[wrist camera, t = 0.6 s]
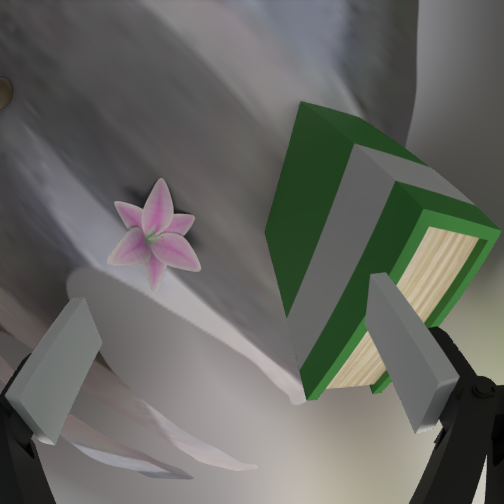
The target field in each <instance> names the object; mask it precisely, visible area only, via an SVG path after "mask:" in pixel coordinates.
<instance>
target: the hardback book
mask: <svg viewBox="0 0 504 504" xmlns="http://www.w3.org/2000/svg"><path fill="white" fill-rule="evenodd" d="M500 233H501V230H500V229H499V228H498V227H497V226H496V225H495V224H494V223H493V222H492V221H491V220H490V219H489V218H488V217H487V216H486V215H485V214H484V213H483V212H482V211H481V210H480V209H479V208H478V207H476V206H475V205H474V204H473V203H472V202H471V201H470V200H469V199H468V198H466V197H465V196H464V195H463V194H462V193H461V192H460V191H458V190H457V189H456V188H455V187H454V186H453V185H451V184H450V183H449V182H448V181H446V180H445V179H444V178H443V177H442V176H440V175H439V174H438V173H437V172H435V171H434V170H433V169H432V168H430V167H429V166H428V165H427V164H425V163H424V162H423V161H421V160H420V159H418V158H417V157H416V156H415V155H413V154H412V153H411V152H409V151H408V150H407V149H405V148H404V147H402V146H401V145H400V144H398V143H397V142H395V141H394V140H393V139H391V138H390V137H388V136H387V135H385V134H384V133H382V132H381V131H379V130H378V129H376V128H375V127H373V126H372V125H370V124H369V123H367V122H366V121H364V120H363V119H361V118H359V117H357V116H353V115H350V114H347V113H343V112H340V111H336V110H333V109H329V108H326V107H322V106H318V105H314V104H310V103H306V102H302V101H301V103H300V106H299V110H298V113H297V117H296V121H295V124H294V128H293V132H292V135H291V139H290V143H289V146H288V150H287V153H286V157H285V161H284V164H283V168H282V172H281V175H280V179H279V182H278V186H277V190H276V193H275V197H274V200H273V204H272V207H271V211H270V215H269V218H268V222H267V225H266V229H265V236H266V239H267V243H268V247H269V251H270V255H271V259H272V263H273V267H274V270H275V274H276V278H277V282H278V286H279V290H280V294H281V298H282V302H283V306H284V310H285V314H286V318H287V322H288V326H289V330H290V334H291V338H292V342H293V347H294V351H295V355H296V359H297V363H298V367H299V371H300V375H301V380H302V384H303V388H304V392H305V396H306V400H317V399H318V398H319V397H320V395H321V394H322V393H323V391H324V390H325V389H328V388H340V387H352V386H362V385H370V388H371V391H372V394H376V393H381V392H382V391H383V390H384V389H385V388H386V387H387V386H388V385H389V384H390V383H391V382H392V380H391V378H390V376H389V374H388V372H387V369H386V367H385V365H384V363H383V361H382V359H381V357H380V355H379V353H378V350H377V348H376V346H375V344H374V342H373V340H372V338H371V336H370V334H369V332H368V330H367V328H366V326H365V318H366V310H367V301H368V292H369V282H370V274H376V273H384V272H386V273H387V274H388V276H389V277H390V278H391V280H392V281H393V282H394V284H395V285H396V286H397V288H398V289H399V290H400V291H401V293H402V294H403V295H404V297H405V298H406V300H407V301H408V302H409V304H410V305H411V306H412V308H413V309H414V310H415V312H416V313H417V315H418V316H419V317H420V319H421V320H422V322H423V323H424V324H425V326H426V327H427V328H430V327H435V326H437V327H439V325H440V324H441V323H442V321H443V320H444V319H445V317H446V316H447V315H448V313H449V312H450V311H451V309H452V308H453V307H454V305H455V304H456V303H457V301H458V300H459V298H460V297H461V295H462V294H463V292H464V291H465V290H466V288H467V287H468V285H469V284H470V282H471V281H472V279H473V278H474V276H475V275H476V273H477V272H478V270H479V268H480V267H481V265H482V264H483V262H484V260H485V259H486V257H487V256H488V254H489V252H490V250H491V249H492V247H493V246H494V244H495V242H496V240H497V238H498V237H499V235H500Z"/></svg>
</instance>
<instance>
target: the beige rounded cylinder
mask: <svg viewBox="0 0 504 504" xmlns="http://www.w3.org/2000/svg"><path fill="white" fill-rule="evenodd" d="M12 95H13V87H12V84H11V82H10V81H9V80H8V79H7V78H4V77H1V78H0V109H2V108H4V107H6V106H7V105H8V104H9V103H10V101H11V99H12Z"/></svg>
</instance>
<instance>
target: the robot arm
mask: <svg viewBox="0 0 504 504" xmlns="http://www.w3.org/2000/svg"><path fill="white" fill-rule="evenodd" d="M365 326H366V328H367V330H368V332H369V334H370V336H371V338H372V340H373V342H374V344H375V346H376V348H377V350H378V353H379V355H380V357H381V359H382V361H383V363H384V365H385V367H386V369H387V372H388V374H389V376H390V378H391V380H392V382H393V385H394V387H395V389H396V391H397V394H398V396H399V398H400V400H401V402H402V405H403V407H404V409H405V412H406V414H407V416H408V419H409V421H410V423H411V425H412V428H413V430H414V433H415V434H418V433H422V432H425V431H428V430H431V429H434V427H435V425H436V424H437V422H438V420H440V422H441V423H442V426H443V428H442V429H441V431H440V433H439V435H438V436H437V438H436V440H435V441H434V443H436V444H435V447H434V450H433V452H432V455H431V457H430V459H429V462H428V464H427V467H426V469H425V471H424V473H423V475H422V478H421V480H420V482H419V484H418V486H417V488H416V490H415V492H414V495H413V496H412V498H411V500H410V502H409V504H472V501H473V498H474V495H475V492H476V489H477V486H478V483H479V480H480V476H481V473H482V470H483V466H484V463H485V459H486V455H487V474H486V491H485V503H484V504H504V385H496V384H495V383H494V382H493V381H492V380H491V379H489V378H487V377H484V376H477V375H476V373H475V372H474V370H473V369H472V367H471V366H470V364H469V363H468V362H467V360H466V359H465V357H464V356H463V354H462V353H461V352H460V351H459V350H458V347H457V346H456V345H455V344H454V343H453V341H452V339H451V338H450V337H449V335H448V334H447V333H446V332H445V331H443V330H442V329H440V328H439V327H437V326H435V327H430V328H427V327H426V326H425V324H424V323H423V322H422V320H421V319H420V317H419V316H418V315H417V313H416V312H415V310H414V309H413V308H412V306H411V305H410V304H409V302H408V301H407V300H406V298H405V297H404V295H403V294H402V293H401V291H400V290H399V289H398V288H397V286H396V285H395V284H394V282H393V281H392V280H391V278H390V277H389V276H388V274H387V273H386V272H384V273H376V274H370V282H369V292H368V301H367V310H366V318H365ZM101 345H102V340H101V338H100V336H99V333H98V331H97V328H96V326H95V323H94V321H93V318H92V316H91V313H90V310H89V308H88V305H87V303H86V300H85V298H84V297H83V298H72V299H71V300H70V301H69V303H68V304H67V305H66V307H65V308H64V309H63V311H62V312H61V313H60V315H59V316H58V317H57V319H56V320H55V321H54V323H53V324H52V325H51V327H50V328H49V330H48V331H47V332H46V334H45V335H44V337H43V338H42V339H41V341H40V342H39V344H38V345H37V347H36V348H35V349H34V351H33V352H32V353H30V354H29V355H28V356H27V357H26V358H25V359H23V360H22V362H21V363H20V365H19V366H18V368H17V370H16V371H15V372H14V374H13V377H11V378H10V380H9V381H8V383H7V385H6V386H5V388H4V390H3V391H2V393H1V394H0V504H56V502H55V500H54V497H53V495H52V492H51V490H50V487H49V485H48V482H47V479H46V477H45V474H44V471H43V468H42V465H41V462H40V459H39V456H38V453H37V450H36V446H35V444H34V442H33V440H32V439H31V437H32V435H33V433H34V434H35V435H36V437H37V438H38V439H39V440H40V441H41V442H43V443H48V444H51V445H55V444H56V442H57V439H58V437H59V435H60V432H61V430H62V428H63V425H64V423H65V421H66V418H67V416H68V414H69V412H70V409H71V407H72V405H73V403H74V400H75V398H76V396H77V394H78V392H79V390H80V387H81V385H82V383H83V381H84V379H85V377H86V375H87V373H88V371H89V369H90V367H91V365H92V363H93V361H94V358H95V356H96V354H97V353H98V351H99V348H100V347H101Z"/></svg>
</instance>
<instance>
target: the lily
mask: <svg viewBox="0 0 504 504" xmlns="http://www.w3.org/2000/svg"><path fill="white" fill-rule="evenodd" d="M114 205H115V207H116V210H117V211H118V213H119V215H120V217H121V219H122V220H123V222H124V224H125V225H126V227H127V228H128V230H129V231H128V232H127V233H126V234H125V236H124V237H123V238H122V239H121V241H120V242H119V243H118V244H117V246H116V247H115V248H114V250H113V251H112V253H111V254H110V256H109V258H108V264H110V265H113V266H131V265H141V264H144V267H145V271H146V274H147V277H148V280H149V283H150V286H151V288H152V290H153V292H154V293H155V292H157V290H158V288H159V287H160V284H161V282H162V280H163V277H164V275H165V271H166V268H167V265H168V266H171V267H175V268H179V269H183V270H188V271H194V272H199V271H200V270H201V266H200V263H199V260H198V258H197V256H196V254H195V252H194V251H193V249H192V247H191V246H190V244H189V243H188V241H187V240H186V239H185V238H184V237H183V236H184V235H185V234H186V233H187V231H188V230H189V229H190V227H191V226H192V224H193V222H194V220H195V217H194V216H193V215H190V214H174V211H173V203H172V199H171V195H170V192H169V189H168V186H167V184H166V182H165V180H163V179H162V178H159V180H158V181H157V182H156V184H155V186H154V188H153V190H152V192H151V194H150V196H149V197H148V199H147V201H146V204H145V206H144V208H143V209H142V208H140V207H137V206H135V205H132V204H129V203H125V202H120V201H115V202H114Z"/></svg>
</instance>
